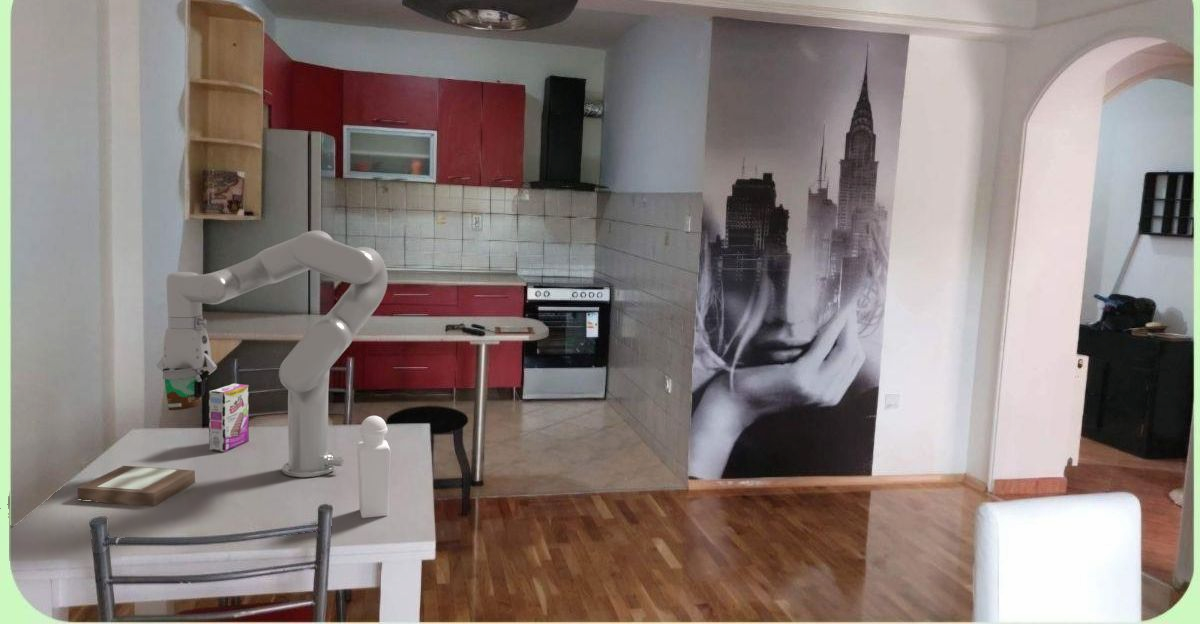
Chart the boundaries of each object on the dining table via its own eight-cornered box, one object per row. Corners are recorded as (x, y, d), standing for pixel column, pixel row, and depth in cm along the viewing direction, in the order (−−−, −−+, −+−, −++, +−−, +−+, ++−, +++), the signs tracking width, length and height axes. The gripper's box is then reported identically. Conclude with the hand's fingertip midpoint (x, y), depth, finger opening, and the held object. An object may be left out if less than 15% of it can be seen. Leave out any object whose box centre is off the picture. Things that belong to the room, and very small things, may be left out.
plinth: (195, 482, 205) (194, 469, 204) (154, 506, 189) (154, 492, 188) (123, 477, 206) (123, 464, 206) (77, 500, 190) (77, 487, 190)
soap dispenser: (390, 516, 188) (390, 419, 185) (359, 519, 186) (359, 420, 183) (387, 506, 194) (387, 411, 191) (357, 508, 192) (356, 413, 189)
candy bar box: (225, 452, 228) (224, 392, 226) (208, 451, 229) (207, 391, 227) (250, 441, 239) (249, 383, 237) (234, 439, 240) (233, 382, 238)
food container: (190, 412, 204) (187, 371, 203) (165, 411, 205) (162, 370, 203) (215, 399, 217) (213, 361, 215) (192, 399, 217) (189, 361, 216)
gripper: (227, 322, 211) (229, 394, 213) (161, 319, 212) (164, 390, 215) (210, 326, 204) (213, 401, 206) (142, 323, 205) (145, 397, 208)
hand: (188, 395), depth 210 cm, fingers closed on food container, 5 cm apart
